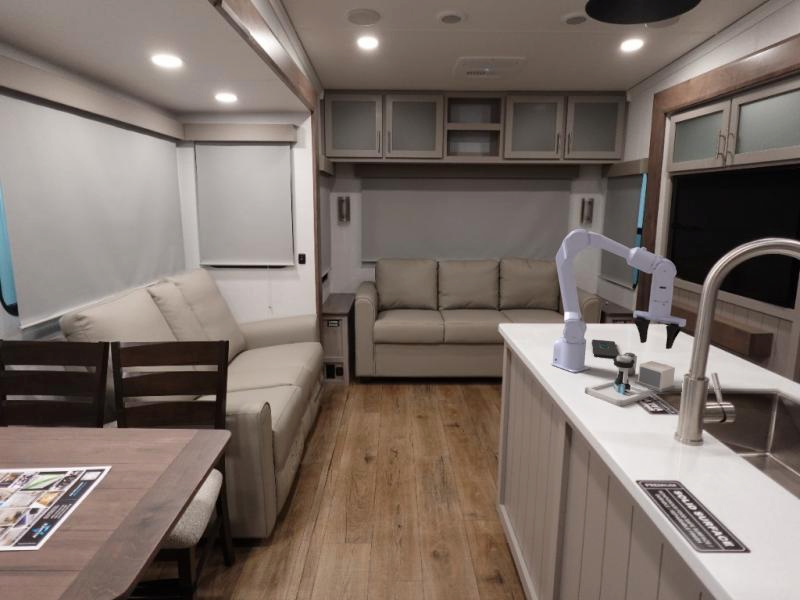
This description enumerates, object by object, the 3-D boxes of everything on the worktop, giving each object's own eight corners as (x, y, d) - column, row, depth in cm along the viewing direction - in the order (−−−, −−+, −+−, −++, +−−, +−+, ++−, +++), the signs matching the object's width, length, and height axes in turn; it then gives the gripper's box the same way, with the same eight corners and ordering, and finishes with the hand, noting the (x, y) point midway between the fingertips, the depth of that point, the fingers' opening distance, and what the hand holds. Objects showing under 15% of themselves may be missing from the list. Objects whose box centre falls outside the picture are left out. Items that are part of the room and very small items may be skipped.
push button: (638, 396, 133) (641, 361, 131) (619, 397, 132) (622, 361, 130) (624, 387, 139) (628, 353, 137) (606, 388, 139) (609, 354, 137)
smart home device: (615, 340, 185) (619, 356, 167) (614, 345, 186) (619, 360, 167) (591, 338, 188) (593, 353, 169) (591, 343, 188) (593, 358, 170)
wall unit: (635, 383, 144) (637, 363, 143) (649, 379, 148) (651, 360, 147) (661, 392, 138) (663, 371, 136) (675, 387, 141) (677, 367, 140)
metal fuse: (618, 373, 153) (620, 353, 152) (626, 371, 155) (628, 351, 154) (629, 377, 149) (632, 356, 148) (637, 375, 151) (640, 354, 150)
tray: (584, 392, 137) (585, 387, 136) (614, 384, 143) (614, 379, 143) (619, 406, 128) (620, 401, 127) (649, 397, 134) (650, 391, 134)
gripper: (629, 298, 148) (625, 341, 150) (679, 306, 136) (674, 353, 139) (642, 295, 152) (637, 338, 154) (691, 303, 140) (686, 349, 143)
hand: (655, 345), depth 147 cm, fingers open, 7 cm apart
